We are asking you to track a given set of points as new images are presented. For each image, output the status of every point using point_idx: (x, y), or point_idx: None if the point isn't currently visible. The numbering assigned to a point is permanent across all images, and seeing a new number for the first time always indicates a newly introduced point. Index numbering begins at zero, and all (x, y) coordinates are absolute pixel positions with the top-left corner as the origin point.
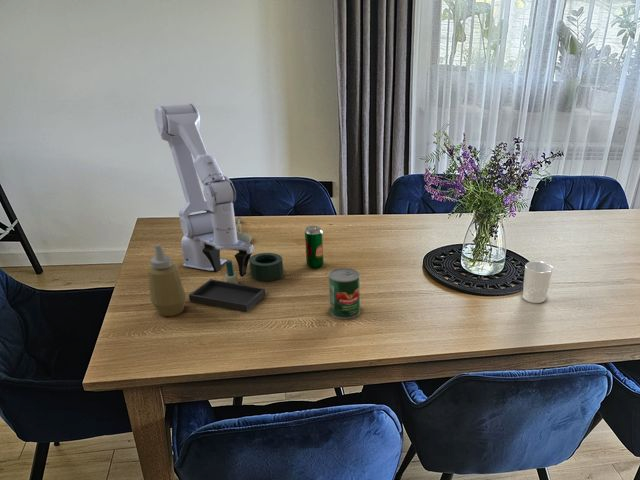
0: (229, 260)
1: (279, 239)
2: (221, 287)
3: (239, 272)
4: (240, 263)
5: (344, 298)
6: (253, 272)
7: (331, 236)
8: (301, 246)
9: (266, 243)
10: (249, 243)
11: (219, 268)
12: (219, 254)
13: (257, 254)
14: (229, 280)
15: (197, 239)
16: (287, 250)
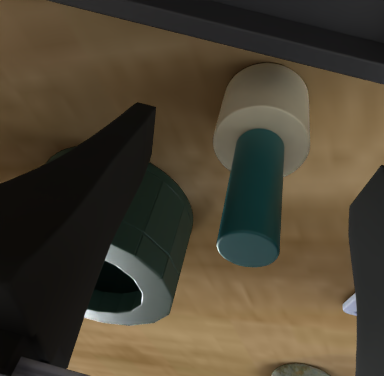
0: (247, 262)
1: (195, 370)
2: (332, 16)
3: (139, 124)
4: (48, 181)
5: None
6: (141, 197)
7: (78, 360)
8: (118, 341)
9: (224, 363)
10: (274, 371)
11: (359, 208)
12: (359, 339)
13: (150, 318)
14: (264, 91)
15: None
16: (144, 331)
